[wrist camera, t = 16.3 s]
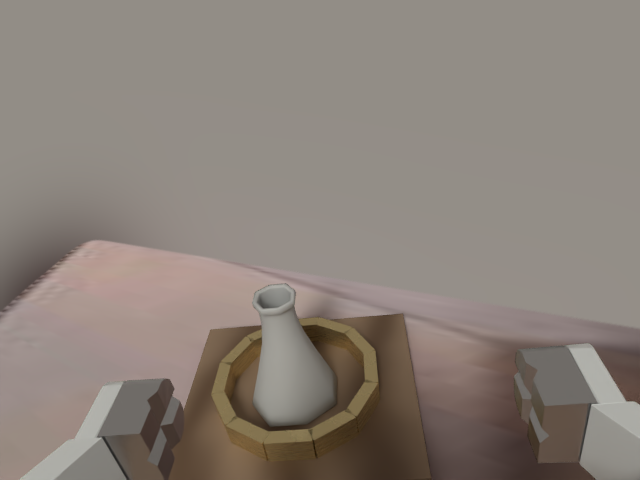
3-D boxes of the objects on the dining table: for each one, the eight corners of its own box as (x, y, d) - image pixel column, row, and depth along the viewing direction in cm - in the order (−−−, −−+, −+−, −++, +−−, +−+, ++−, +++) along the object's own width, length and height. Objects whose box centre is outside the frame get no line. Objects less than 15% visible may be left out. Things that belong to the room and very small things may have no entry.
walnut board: (403, 323, 48) (402, 313, 47) (431, 489, 33) (431, 478, 33) (213, 338, 50) (210, 329, 49) (161, 502, 35) (156, 492, 35)
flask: (245, 376, 43) (218, 283, 38) (324, 351, 44) (308, 258, 39) (261, 442, 37) (231, 342, 32) (351, 411, 38) (336, 311, 33)
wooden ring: (373, 329, 46) (371, 312, 45) (385, 455, 35) (383, 436, 34) (235, 340, 47) (230, 324, 46) (203, 465, 36) (195, 447, 35)
